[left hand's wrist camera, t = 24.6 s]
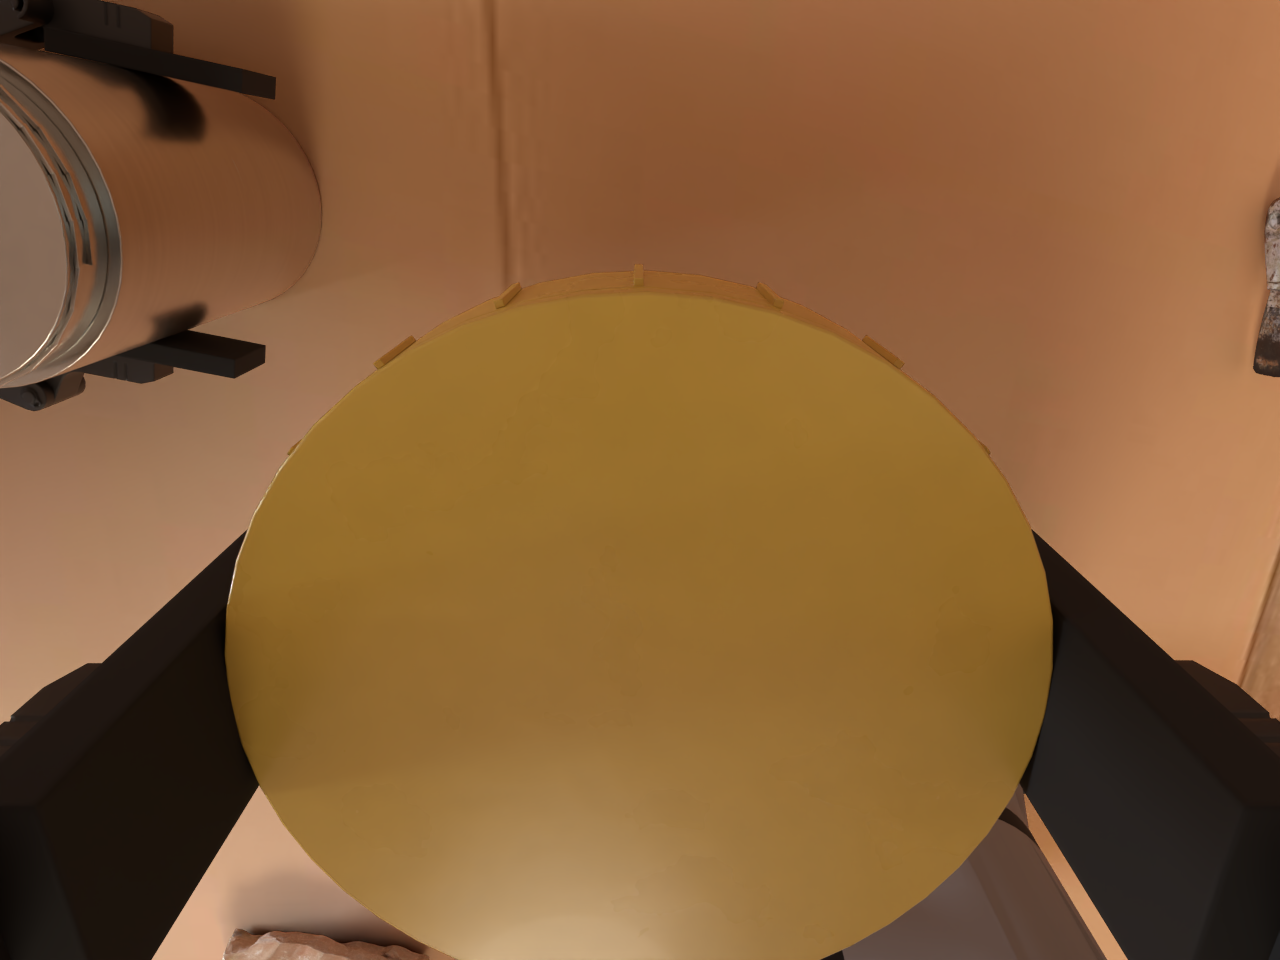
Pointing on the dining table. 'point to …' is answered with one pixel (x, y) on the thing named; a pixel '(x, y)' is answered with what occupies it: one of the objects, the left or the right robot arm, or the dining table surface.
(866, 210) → the dining table surface
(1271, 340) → the putty knife
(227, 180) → the jar
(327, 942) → the stone
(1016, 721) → the lid
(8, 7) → the right robot arm
